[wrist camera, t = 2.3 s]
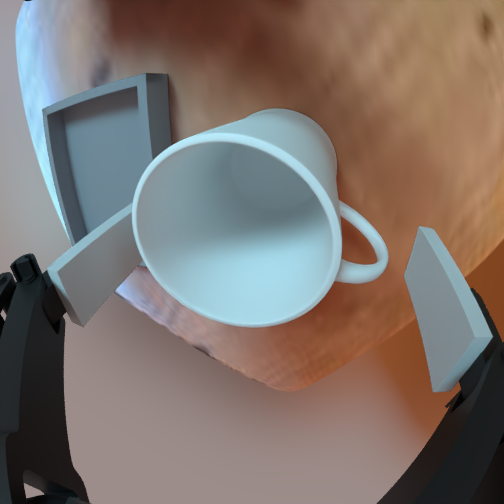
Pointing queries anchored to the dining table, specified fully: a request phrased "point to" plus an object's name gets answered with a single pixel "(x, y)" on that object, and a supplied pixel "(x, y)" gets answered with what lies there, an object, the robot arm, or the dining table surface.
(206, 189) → the mug
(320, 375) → the dining table surface
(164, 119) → the slate tray
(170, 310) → the dining table surface
